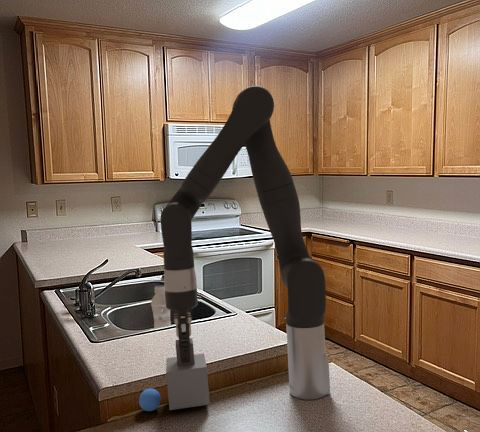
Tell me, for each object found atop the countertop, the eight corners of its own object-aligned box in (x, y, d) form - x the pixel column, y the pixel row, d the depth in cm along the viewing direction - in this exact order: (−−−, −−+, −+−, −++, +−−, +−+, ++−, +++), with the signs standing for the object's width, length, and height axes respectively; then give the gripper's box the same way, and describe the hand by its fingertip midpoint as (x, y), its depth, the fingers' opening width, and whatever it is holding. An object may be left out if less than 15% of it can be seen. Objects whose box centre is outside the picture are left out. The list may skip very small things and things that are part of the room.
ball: (153, 381, 111) (135, 392, 111) (152, 389, 106) (134, 402, 106) (164, 397, 112) (147, 409, 111) (164, 407, 107) (145, 419, 106)
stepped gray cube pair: (206, 387, 115) (202, 333, 114) (209, 404, 106) (204, 345, 105) (169, 393, 114) (164, 338, 113) (169, 410, 105) (164, 350, 104)
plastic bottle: (170, 348, 152) (166, 288, 151) (150, 348, 154) (146, 288, 153) (176, 342, 159) (173, 284, 158) (158, 342, 160) (154, 284, 159)
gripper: (198, 291, 102) (203, 368, 103) (195, 280, 116) (199, 347, 117) (164, 294, 101) (169, 371, 102) (165, 283, 115) (169, 350, 116)
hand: (185, 358), depth 110 cm, fingers closed on stepped gray cube pair, 4 cm apart
